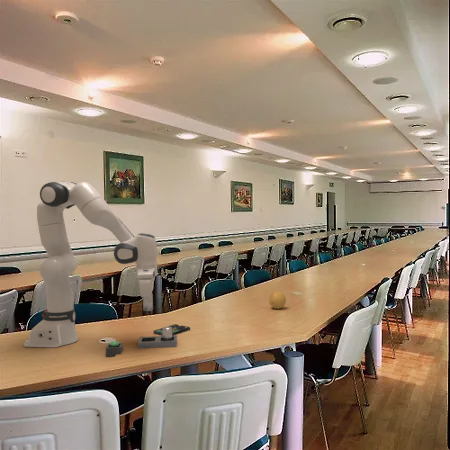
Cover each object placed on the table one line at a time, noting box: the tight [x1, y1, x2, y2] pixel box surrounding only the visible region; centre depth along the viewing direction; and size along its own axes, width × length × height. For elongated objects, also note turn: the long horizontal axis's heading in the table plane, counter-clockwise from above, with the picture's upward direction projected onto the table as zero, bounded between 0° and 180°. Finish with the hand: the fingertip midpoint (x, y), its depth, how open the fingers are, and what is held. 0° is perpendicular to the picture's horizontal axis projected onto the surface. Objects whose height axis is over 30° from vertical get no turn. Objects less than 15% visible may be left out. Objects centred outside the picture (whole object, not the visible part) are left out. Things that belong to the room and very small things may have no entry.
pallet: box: [137, 334, 178, 349], centre depth 186 cm, size 16×9×3 cm, turn 95°
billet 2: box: [162, 325, 172, 341], centre depth 186 cm, size 4×4×7 cm
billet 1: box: [142, 293, 154, 312], centre depth 185 cm, size 4×4×7 cm
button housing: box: [105, 342, 124, 358], centre depth 176 cm, size 6×6×4 cm
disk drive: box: [153, 323, 191, 336], centre depth 205 cm, size 10×3×15 cm
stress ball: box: [268, 291, 287, 310], centre depth 253 cm, size 10×10×10 cm
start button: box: [109, 340, 120, 347], centre depth 176 cm, size 4×4×1 cm
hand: (147, 303), depth 185 cm, fingers closed on billet 1, 4 cm apart
